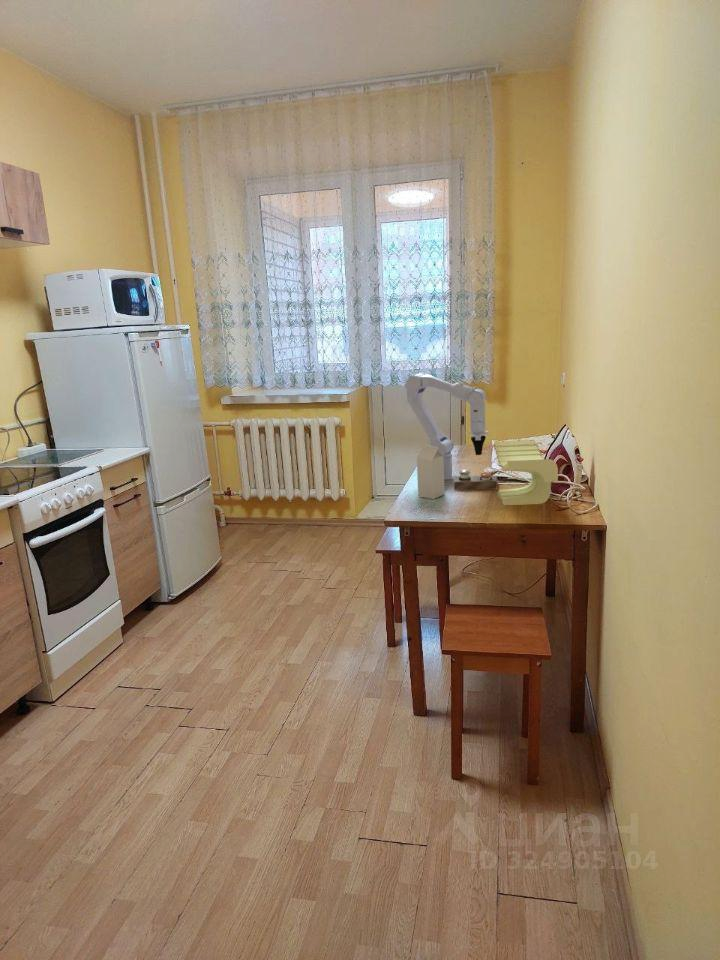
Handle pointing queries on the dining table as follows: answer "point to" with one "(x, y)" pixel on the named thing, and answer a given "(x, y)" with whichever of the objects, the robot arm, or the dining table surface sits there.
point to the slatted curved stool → (526, 460)
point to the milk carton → (430, 472)
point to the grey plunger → (464, 474)
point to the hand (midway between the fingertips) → (478, 454)
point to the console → (475, 483)
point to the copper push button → (485, 476)
